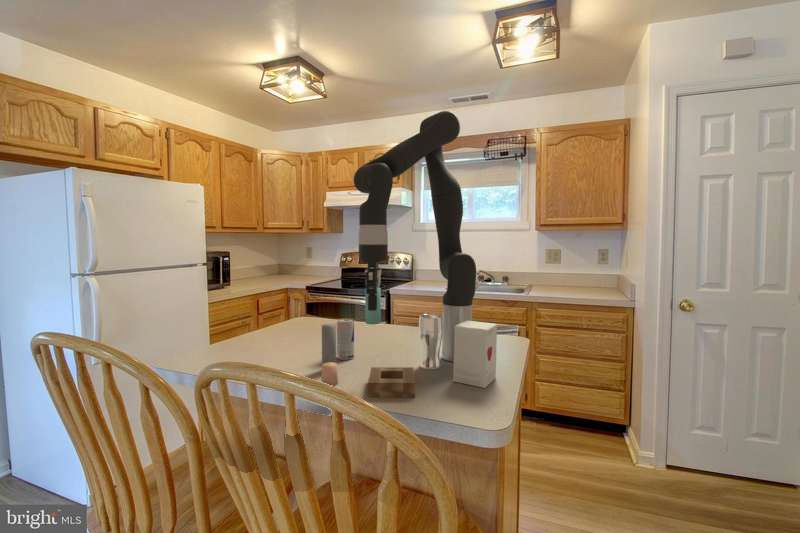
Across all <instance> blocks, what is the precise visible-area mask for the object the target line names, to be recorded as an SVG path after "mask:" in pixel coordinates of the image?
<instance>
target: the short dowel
mask: <svg viewBox="0 0 800 533" xmlns="http://www.w3.org/2000/svg"><path fill="white" fill-rule="evenodd" d="M338 369H339V364H338V363H337V362H336V363H334V362H328V363H324V364H322V363H321V383H322V382H324V383H327V384H329V385H333V386H332V387H335V386H337V385H338V384H339V380H338V379H339V376H338V375H339V373H338V372H339V371H338Z"/></svg>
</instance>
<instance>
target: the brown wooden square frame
mask: <svg viewBox="0 0 800 533" xmlns="http://www.w3.org/2000/svg"><path fill="white" fill-rule="evenodd" d="M367 380H368V381H367V398H416V390H415V389H416V382H415V372H414V367H410V366H409V367H403V366H402V367H399V366H398V367H394V366H391V367H389V366H387V367H384V366H382V367H381V366H379V367H378V366H377V367H375V366H371V367H370V372H369V377H368V379H367Z"/></svg>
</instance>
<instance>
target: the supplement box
mask: <svg viewBox="0 0 800 533" xmlns="http://www.w3.org/2000/svg"><path fill="white" fill-rule="evenodd" d="M497 333H498V323H493V322H483V321H476V320H475V321H474V320H472V321H468V320H467V321H465V322H463V323H460V324H458V325H456V326H455V328H454V362H453V369H452V370H453V374H452V376H453V378H452V381H453V382H456V383H459V384H460V383H461V384H464V385H468V386H469V385H470V386H474V387H477V388H483V389H486V388H487V387H488V386H489V385H490V384H491V383H493V381H494V380H495V379H496V378H497V376H496V375H497V339H498V338H497V337H498V334H497Z"/></svg>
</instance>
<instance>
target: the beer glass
mask: <svg viewBox="0 0 800 533" xmlns="http://www.w3.org/2000/svg"><path fill="white" fill-rule="evenodd" d="M442 332H443V327H442V315H441V314H436V313H423V314H420V315H419V320H418V340H419V344H420V346H419V347H420V352H421V357H420V363H419V367H420V368H421V369H424V370H429V371H431V370H432V371H433V370H438V369H441V360H440V350H441V347H442Z"/></svg>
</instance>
